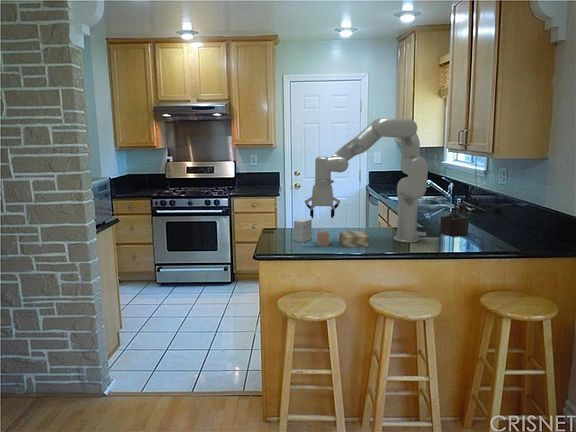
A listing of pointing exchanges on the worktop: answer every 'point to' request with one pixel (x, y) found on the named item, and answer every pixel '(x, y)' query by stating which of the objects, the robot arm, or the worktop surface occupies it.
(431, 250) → the worktop surface
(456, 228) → the dark brown boxy piece
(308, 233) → the small box
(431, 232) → the worktop surface
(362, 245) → the maple base block
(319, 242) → the terracotta block
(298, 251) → the worktop surface
